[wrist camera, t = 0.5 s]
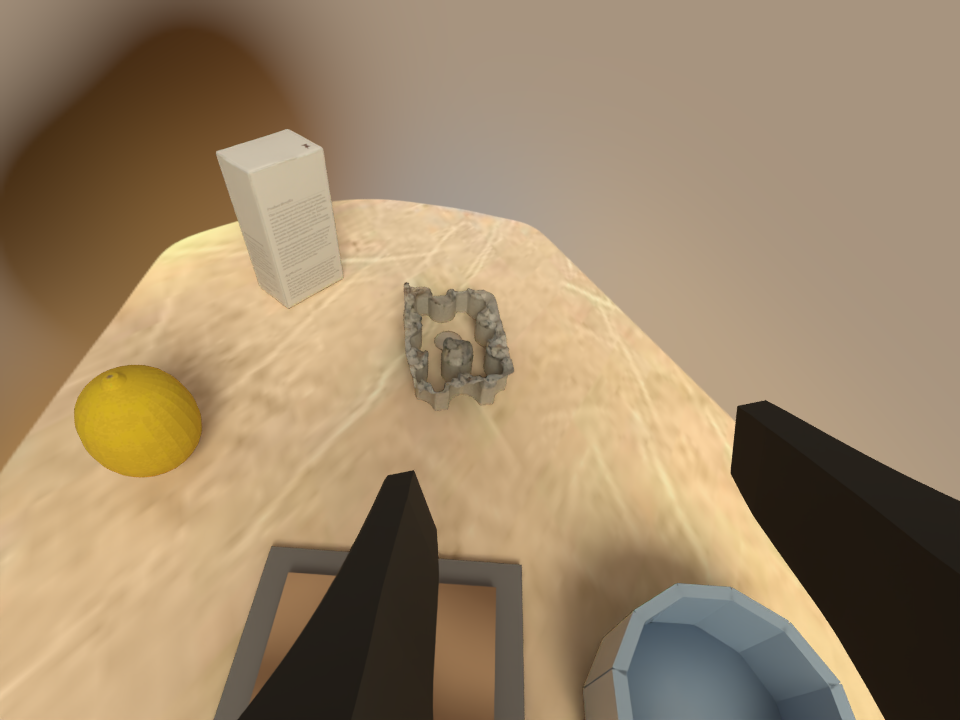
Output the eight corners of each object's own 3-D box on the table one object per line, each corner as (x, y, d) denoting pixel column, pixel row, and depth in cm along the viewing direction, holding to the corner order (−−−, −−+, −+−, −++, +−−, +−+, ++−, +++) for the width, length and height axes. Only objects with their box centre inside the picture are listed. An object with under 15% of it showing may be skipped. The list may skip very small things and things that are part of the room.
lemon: (216, 414, 33) (172, 329, 27) (220, 484, 29) (170, 405, 24) (121, 435, 31) (52, 349, 25) (114, 513, 28) (32, 435, 22)
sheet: (489, 888, 19) (504, 908, 15) (202, 875, 18) (153, 892, 15) (494, 590, 26) (506, 559, 23) (290, 576, 26) (271, 542, 22)
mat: (527, 948, 18) (528, 950, 18) (147, 932, 18) (142, 934, 17) (520, 567, 28) (521, 564, 27) (273, 548, 27) (271, 546, 27)
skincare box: (314, 258, 45) (289, 126, 36) (345, 279, 43) (326, 146, 35) (256, 287, 42) (212, 149, 33) (286, 311, 40) (249, 173, 31)
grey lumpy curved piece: (401, 315, 41) (400, 277, 38) (488, 312, 43) (493, 275, 40) (409, 416, 34) (407, 379, 31) (512, 409, 36) (520, 372, 33)
